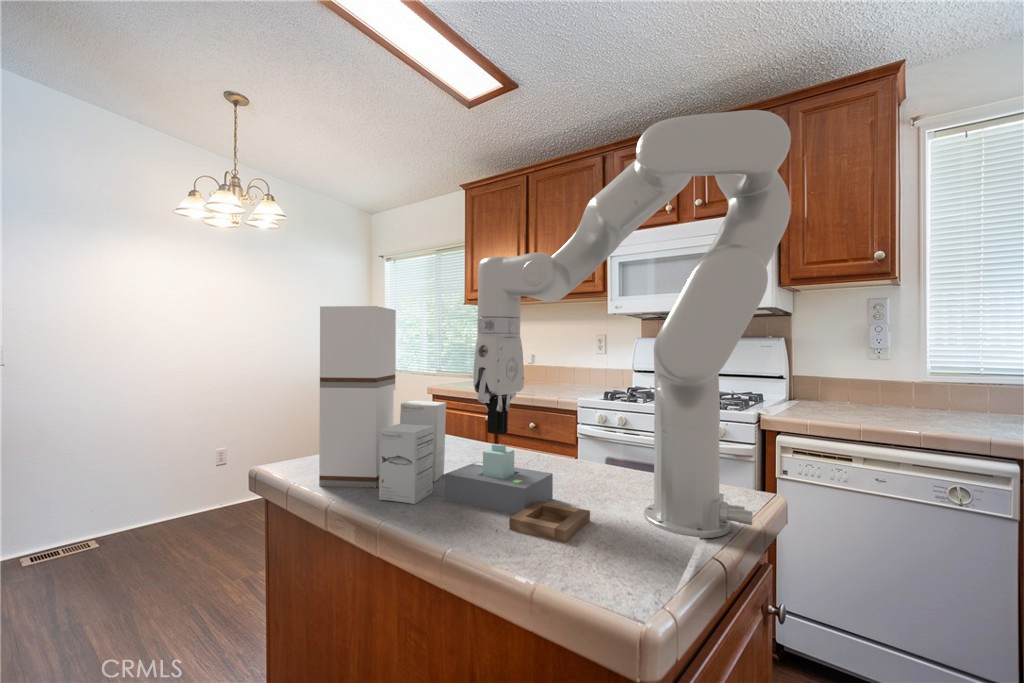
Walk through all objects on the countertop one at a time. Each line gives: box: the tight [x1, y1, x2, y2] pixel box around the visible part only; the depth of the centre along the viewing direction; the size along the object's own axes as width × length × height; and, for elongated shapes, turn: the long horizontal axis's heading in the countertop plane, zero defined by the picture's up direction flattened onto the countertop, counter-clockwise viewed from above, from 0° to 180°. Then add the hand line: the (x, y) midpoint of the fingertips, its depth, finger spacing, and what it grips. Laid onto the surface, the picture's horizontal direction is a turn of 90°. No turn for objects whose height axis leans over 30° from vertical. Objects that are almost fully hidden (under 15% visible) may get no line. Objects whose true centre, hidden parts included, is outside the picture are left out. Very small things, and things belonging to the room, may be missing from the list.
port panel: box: [444, 461, 554, 516], centre depth 82 cm, size 16×10×5 cm, turn 59°
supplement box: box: [378, 423, 434, 505], centre depth 85 cm, size 7×7×13 cm
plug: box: [482, 443, 515, 480], centre depth 82 cm, size 4×4×9 cm
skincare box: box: [399, 400, 447, 483], centre depth 98 cm, size 8×7×16 cm
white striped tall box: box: [318, 305, 397, 489], centre depth 96 cm, size 11×11×35 cm
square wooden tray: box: [508, 501, 591, 544], centre depth 70 cm, size 9×9×2 cm
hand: (497, 432), depth 82 cm, fingers closed
